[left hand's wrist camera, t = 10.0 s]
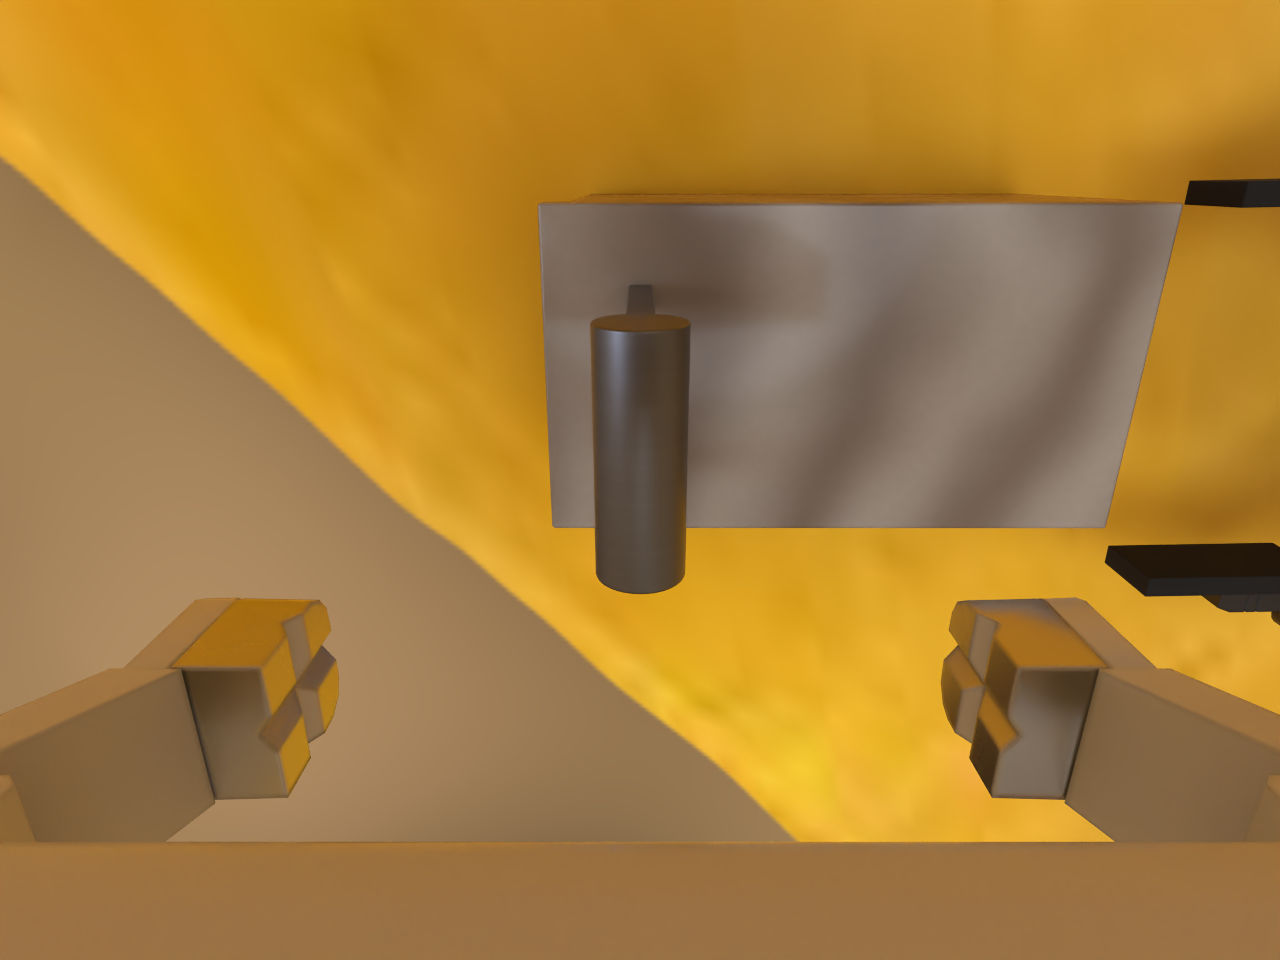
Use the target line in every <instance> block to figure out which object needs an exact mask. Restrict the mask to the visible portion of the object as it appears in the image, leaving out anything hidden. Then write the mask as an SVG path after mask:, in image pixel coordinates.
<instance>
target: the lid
mask: <svg viewBox="0 0 1280 960" xmlns="http://www.w3.org/2000/svg"><path fill="white" fill-rule="evenodd" d="M1182 207H1183V205H1182V204H1181V203H1177V202H542V203H540V204H538V223H539V245H540V267H541V288H542V310H543V332H544V354H545V375H546V397H547V419H548V441H549V462H550V484H551V506H552V525H553V527H555V528H595V552H596V575H597V577H598V579H599V581H600V582H601V583H603V584H604V585H605V586H607V587H609V588H611V589H613V590H616V591H620V592H624V593H631V594H650V593H657V592H661V591H665V590H668V589H670V588H672V587H674V586H676V585H677V584H678V583H680V582H681V580H682V579H683V577H684V575H685V551H686V528H1105V526H1106V523H1107V518H1108V514H1109V510H1110V506H1111V502H1112V498H1113V494H1114V489H1115V485H1116V481H1117V477H1118V473H1119V469H1120V464H1121V460H1122V456H1123V452H1124V448H1125V444H1126V440H1127V435H1128V431H1129V427H1130V423H1131V419H1132V415H1133V411H1134V406H1135V402H1136V398H1137V394H1138V390H1139V386H1140V381H1141V377H1142V373H1143V369H1144V365H1145V361H1146V357H1147V352H1148V348H1149V344H1150V340H1151V336H1152V332H1153V328H1154V323H1155V319H1156V315H1157V311H1158V307H1159V303H1160V298H1161V294H1162V290H1163V286H1164V282H1165V278H1166V274H1167V269H1168V265H1169V261H1170V257H1171V253H1172V249H1173V245H1174V240H1175V236H1176V232H1177V228H1178V224H1179V220H1180V215H1181V211H1182Z"/></svg>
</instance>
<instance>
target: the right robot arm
mask: <svg viewBox="0 0 1280 960" xmlns="http://www.w3.org/2000/svg"><path fill="white" fill-rule="evenodd" d="M1185 205H1203V206H1221V207H1239V208H1248V207H1280V179H1245V180H1200V181H1190V182H1189V186H1188V191H1187V195H1186V200H1185ZM1105 563H1106V564H1107V565H1108V566H1110V567H1111V568H1112V569H1113V570H1114V571H1115V572H1117V573H1118V574H1119V575H1120V576H1121V577H1123V578H1124V579H1125V580H1126V581H1127V582H1129V583H1130V584H1131V585H1132V586H1133V587H1135V588H1136V589H1137V590H1138V591H1139V592H1141V593H1142V594H1143V595H1144V596H1199V595H1201V596H1203V597H1204V598H1205V599H1207V600H1208V601H1209V602H1211V603H1212V604H1213V605H1215V606H1216V607H1217V608H1220V609H1222V610H1225V611H1228V612H1244V611H1245V612H1254V611H1256V612H1272V613H1271V617H1272V619H1273V621H1274V622H1276V623H1277V624H1279V625H1280V547H1279V546H1277V545H1275V544H1274V543H1235V544H1180V545H1124V546H1108V550H1107V555H1106V559H1105Z"/></svg>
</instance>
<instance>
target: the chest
mask: <svg viewBox="0 0 1280 960" xmlns="http://www.w3.org/2000/svg"><path fill="white" fill-rule="evenodd" d="M572 202H1157V201H1140V200H1121V199H1101V198H1082V197H1063V196H1044V195H1025V194H591V195H588V196H585V197H583V198H580V199H577V200H575V201H572Z"/></svg>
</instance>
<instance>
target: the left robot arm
mask: <svg viewBox="0 0 1280 960" xmlns="http://www.w3.org/2000/svg"><path fill="white" fill-rule="evenodd" d="M330 631H331V627H330V622H329V618H328V613H327V608H326V607H325V606H324V605H323V604H322V602H321V601H320V600H295V599H240V598H209V599H200V600H195V601H194V602H193V603H192V604H191V605H190V606H189V607H188V608H186V609H185V610H184V611H183V612H182V613H181V614H180V615H179V616H178V617H177V618H176V619H175V620H174V621H173V622H172V623H171V624H170V625H168V626H167V627H166V628H165V629H164V630H163V631H162V632H161V633H160V634H159V635H158V636H157V637H156V638H155V639H154V640H153V641H152V642H150V643H149V644H148V645H147V646H146V647H145V648H144V649H143V650H142V651H141V652H140V653H139V654H138V655H137V656H136V657H135V658H133V659H132V660H131V661H130V662H129V663H128V664H127V665H126V666H125V667H124V668H123V669H108V670H106V671H103V672H101V673H98V674H96V675H94V676H91V677H89V678H86V679H84V680H82V681H79V682H77V683H75V684H72V685H70V686H67V687H65V688H63V689H60V690H58V691H56V692H53V693H51V694H48V695H46V696H44V697H41V698H39V699H37V700H34V701H32V702H29V703H27V704H25V705H22V706H20V707H18V708H15V709H13V710H11V711H8V712H6V713H3V714H1V715H0V960H1280V715H1279V714H1276V713H1274V712H1272V711H1269V710H1267V709H1265V708H1262V707H1260V706H1257V705H1255V704H1253V703H1250V702H1248V701H1246V700H1243V699H1241V698H1238V697H1236V696H1234V695H1231V694H1229V693H1227V692H1224V691H1222V690H1220V689H1217V688H1215V687H1212V686H1210V685H1208V684H1205V683H1203V682H1201V681H1198V680H1196V679H1194V678H1191V677H1189V676H1186V675H1184V674H1182V673H1179V672H1177V671H1175V670H1172V669H1157V668H1156V667H1155V666H1154V665H1153V664H1152V663H1151V662H1150V661H1149V660H1148V659H1147V658H1146V657H1144V656H1143V655H1142V654H1141V653H1140V652H1139V651H1138V650H1137V649H1136V648H1135V647H1134V646H1133V645H1132V644H1131V643H1130V642H1129V641H1128V640H1127V639H1125V638H1124V637H1123V636H1122V635H1121V634H1120V633H1119V632H1118V631H1117V630H1116V629H1115V628H1114V627H1113V626H1112V625H1111V624H1110V623H1109V622H1108V621H1106V620H1105V619H1104V618H1103V617H1102V616H1101V615H1100V614H1099V613H1098V612H1097V611H1096V610H1095V609H1094V608H1093V607H1092V606H1091V605H1090V604H1088V603H1087V602H1086V601H1084V600H1081V599H1078V598H1053V599H1009V600H968V601H959V602H957V604H956V606H955V608H954V610H953V612H952V616H951V621H950V627H949V631H950V633H951V634H952V636H953V637H954V639H955V640H956V642H957V644H958V646H957V647H956V648H955V649H954V650H953V651H952V652H951V653H950V654H949V655H948V656H947V657H946V658H945V659H944V662H943V670H942V678H941V689H942V700H943V706H944V709H945V712H946V715H947V719H948V721H949V722H950V724H951V726H952V728H953V730H954V732H955V733H956V734H958V735H959V736H961V737H962V738H964V739H966V740H967V741H969V742H970V743H972V746H971V751H970V757H969V758H970V760H971V762H972V764H973V765H974V767H975V769H976V771H977V772H978V774H979V776H980V777H981V779H982V781H983V783H984V784H985V786H986V788H987V790H988V791H989V793H990V795H991V797H992V798H1019V799H1055V800H1065V804H1067V805H1068V806H1069V807H1071V808H1072V809H1073V810H1075V811H1076V812H1077V813H1078V814H1080V815H1081V816H1082V817H1084V818H1085V819H1086V820H1088V821H1089V822H1090V823H1092V824H1093V825H1094V826H1095V827H1097V828H1098V829H1099V830H1101V831H1102V832H1103V833H1105V834H1106V835H1107V836H1109V837H1110V838H1111V839H1113V840H1114V841H1115V842H165V841H166V840H168V839H169V838H170V837H172V836H173V835H174V834H176V833H177V832H178V831H180V830H181V829H182V828H183V827H185V826H186V825H187V824H189V823H190V822H191V821H193V820H194V819H195V818H196V817H198V816H199V815H200V814H202V813H203V812H204V811H206V810H207V809H208V808H210V807H211V806H212V805H214V804H215V800H224V799H260V798H288V797H289V795H290V793H291V792H292V790H293V788H294V786H295V785H296V783H297V781H298V779H299V777H300V776H301V774H302V772H303V771H304V769H305V767H306V765H307V764H308V762H309V760H310V758H311V757H310V751H309V746H308V743H310V742H311V741H313V740H314V739H316V738H318V737H319V736H321V735H322V734H324V733H325V732H326V730H327V728H328V726H329V724H330V722H331V720H332V718H333V716H334V712H335V708H336V704H337V699H338V695H339V675H338V668H337V662H336V659H335V658H334V657H333V656H332V655H331V654H330V653H329V652H328V651H327V650H326V649H325V648H324V647H323V646H322V644H323V642H324V640H325V639H326V637H327V636H328V634H329V633H330Z"/></svg>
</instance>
